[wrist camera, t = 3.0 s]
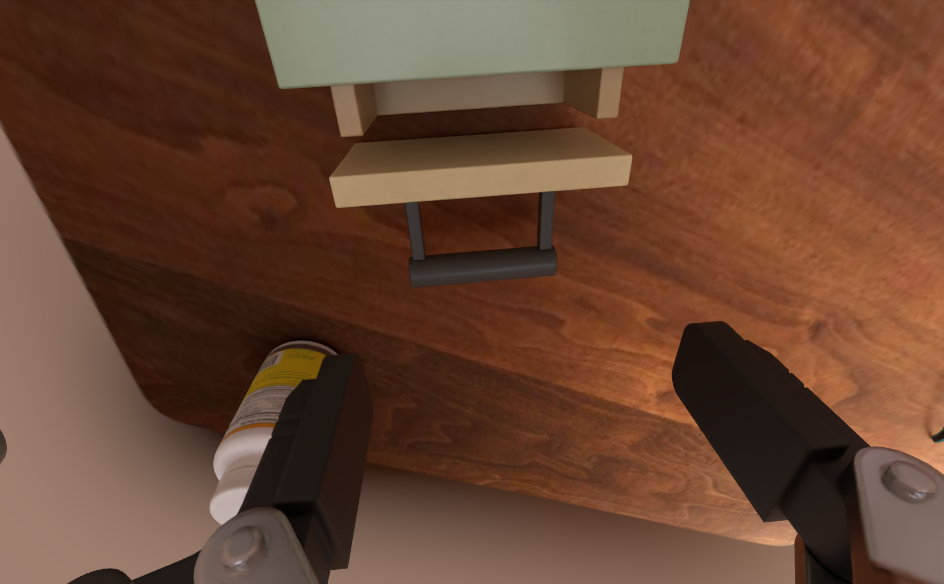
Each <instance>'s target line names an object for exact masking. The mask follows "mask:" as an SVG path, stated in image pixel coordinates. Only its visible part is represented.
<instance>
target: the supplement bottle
mask: <svg viewBox="0 0 944 584" xmlns="http://www.w3.org/2000/svg"><path fill="white" fill-rule="evenodd" d="M327 355H338V354H337V353H336V352H335V351H333V350H332V349H330V348H328V347H327V346H324V345H322V344H319V343H316V342H311V341H293V342H288V343H285V344H282V345H280V346H278V347H277V348H275V349H274V350H273V351H271V352H270V353H269V355H268V356H267V357H266V359H265V361H264V362H263V364H262V366H261V368H260V370H259V371H258V373H257V375H256V377H255V379H254V381H253V383H252V384H251V386H250V388H249V390H248V392H247V394H246V396H245V397H244V399H243V401H242V403H241V405H240V407H239V409H238V411H237V413H236V415H235V417H234V419H233V420H232V422H231V424H230V426H229V428H228V430H227V432H226V434H225V436H224V438H223V440H222V441H221V443H220V445H219V447H218V449H217V451H216V454H215V457H214V471H215V474H216V476H217V478H218V479H219V484H218V487H217V490H216V492H215V494H214V496H213V498H212V500H211V503H210V512H211V515H212V516H213V518H214V519H215V520H216V521H217V522H218V523H220V524H221V525H223V524H224V523H225V522H227V521H228V520H230V519H231V518H232V517H234V516H236V515H237V513H238V511H239V509H240V507H241V505H242V503H243V500H244V498H245V496H246V493H247V491H248V488H249V486H250V484H251V481H252V479H253V476H254V474H255V472H256V469H257V467H258V465H259V462H260V460H261V457H262V455H263V453H264V450H265V448H266V445H267V443H268V441H269V439H271V433H272V431H273V429H274V426H275V424H276V422H277V421H278V417H279V414H280V412H281V410H282V407H283V405H284V402H285V400H286V398H287V396H288V395H289V394H290V393H291V392H292V391H293V390H294V389H295V388H296V387H297V386H298V384H299V383H300V382H301V381H302V380H306V379H316V377H317V375H318V372H319V369H320V366H321V363H322V361H323V358H324V357H325V356H327Z"/></svg>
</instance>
